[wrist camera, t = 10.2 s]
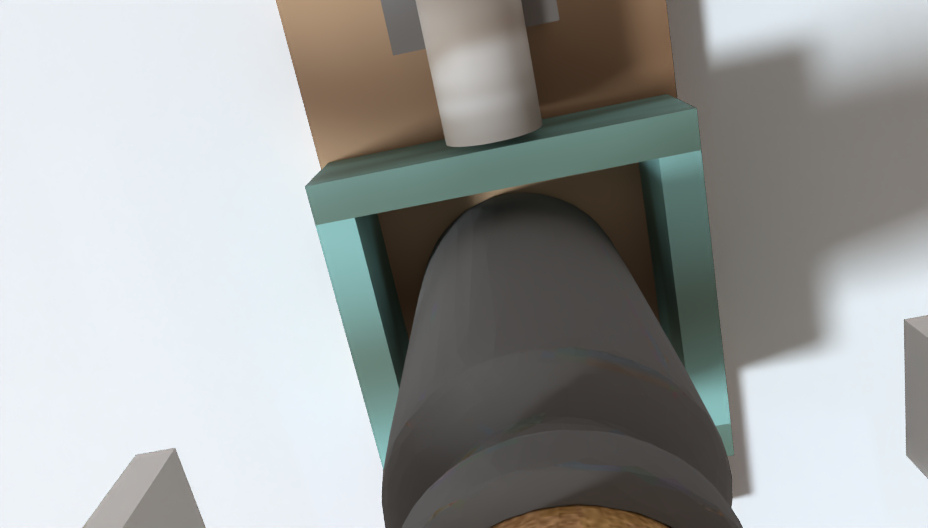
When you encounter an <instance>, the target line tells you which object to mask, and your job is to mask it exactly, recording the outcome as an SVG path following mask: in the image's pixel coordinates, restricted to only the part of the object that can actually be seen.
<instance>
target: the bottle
mask: <svg viewBox="0 0 928 528" xmlns="http://www.w3.org/2000/svg"><path fill="white" fill-rule="evenodd" d="M731 506H732V476H731V471H730V467H729V462H728V458H727V453H726V450H725V447H724V444H723V441H722V438H721V436H720V434H719V432H718V430H717V428H716V426H715V424H714V422H713V420H712V418H711V416H710V414H709V412H708V410H707V409H706V407H705V405H704V403H703V401H702V399H701V397H700V395H699V394H698V392H697V390H696V388H695V386H694V384H693V382H692V380H691V378H690V377H689V375H688V373H687V371H686V369H685V368H684V366H683V364H682V362H681V361H680V359H679V357H678V355H677V354H676V352H675V350H674V348H673V347H672V345H671V343H670V341H669V340H668V338H667V336H666V334H665V333H664V331H663V329H662V327H661V326H660V324H659V322H658V320H657V319H656V317H655V315H654V313H653V311H652V310H651V308H650V306H649V304H648V303H647V301H646V299H645V297H644V296H643V294H642V292H641V290H640V289H639V287H638V285H637V283H636V282H635V280H634V278H633V276H632V275H631V273H630V271H629V269H628V268H627V266H626V264H625V263H624V261H623V259H622V258H621V256H620V255H619V253H618V251H617V250H616V248H615V246H614V245H613V243H612V241H611V240H610V238H609V237H608V236H607V234H606V233H605V232H604V231H603V229H602V228H601V227H600V226H599V224H598V223H597V222H596V221H595V220H593V219H592V218H591V217H590V216H589V215H588V214H586V213H585V212H583V211H582V210H580V209H579V208H577V207H576V206H574V205H573V204H570V203H568V202H566V201H563V200H561V199H558V198H555V197H551V196H547V195H543V194H537V193H513V194H506V195H502V196H498V197H494V198H490V199H487V200H485V201H483V202H481V203H479V204H477V205H475V206H473V207H471V208H470V209H468V210H466V211H465V212H464V213H462V214H461V215H460V216H459V217H458V218H456V219H455V220H454V221H453V222H452V223H451V224H450V225H449V226H448V227H447V228H446V229H445V231H444V232H443V234H442V235H441V236H440V238H439V239H438V240H437V242H436V244H435V246H434V248H433V250H432V252H431V255H430V258H429V261H428V263H427V266H426V269H425V274H424V278H423V282H422V286H421V290H420V294H419V298H418V303H417V308H416V312H415V317H414V322H413V326H412V331H411V335H410V340H409V345H408V350H407V354H406V359H405V364H404V369H403V373H402V378H401V383H400V388H399V392H398V397H397V402H396V407H395V411H394V416H393V421H392V426H391V430H390V435H389V440H388V446H387V452H386V458H385V463H384V469H383V482H382V507H383V514H384V521H385V528H743V527H742V525H741V523H740V521H739V519H738V518H737V516H736V515H735V513H734V512H733V510H732V508H731Z"/></svg>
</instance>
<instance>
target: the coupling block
mask: <svg viewBox="0 0 928 528" xmlns="http://www.w3.org/2000/svg"><path fill="white" fill-rule="evenodd" d="M276 3H277V6H278V10H279V14H280V18H281V21H282V25H283V29H284V33H285V36H286V40H287V44H288V47H289V51H290V55H291V59H292V62H293V66H294V70H295V74H296V77H297V81H298V85H299V88H300V92H301V96H302V100H303V103H304V107H305V111H306V115H307V118H308V122H309V126H310V129H311V133H312V137H313V141H314V144H315V148H316V152H317V156H318V159H319V163H320V167H321V171H320V172H319V173H318V174H317V175H316V176H315V177H314V178H313V179H312V180H311V181H310V182H309V183H308V184H307V185H306V186H305V189H306V192H307V196H308V200H309V203H310V207H311V210H312V214H313V218H314V221H315V225H316V228H317V232H318V236H319V239H320V243H321V246H322V250H323V254H324V257H325V261H326V265H327V268H328V272H329V275H330V279H331V283H332V286H333V290H334V293H335V297H336V301H337V304H338V308H339V311H340V315H341V319H342V322H343V326H344V329H345V333H346V337H347V340H348V344H349V347H350V351H351V355H352V358H353V362H354V366H355V369H356V373H357V376H358V380H359V384H360V387H361V391H362V394H363V398H364V402H365V405H366V409H367V412H368V416H369V420H370V423H371V427H372V430H373V434H374V438H375V441H376V445H377V448H378V452H379V456H380V459H381V463H382V467H383V469H384V463H385V458H386V452H387V446H388V440H389V435H390V430H391V426H392V421H393V416H394V411H395V407H396V402H397V397H398V392H399V388H400V383H401V378H402V373H403V369H404V364H405V359H406V354H407V350H408V345H409V340H410V335H411V331H412V326H413V322H414V317H415V312H416V308H417V303H418V298H419V294H420V290H421V286H422V282H423V278H424V274H425V269H426V266H427V263H428V261H429V258H430V255H431V252H432V250H433V248H434V246H435V244H436V242H437V240H438V239H439V238H440V236H441V235H442V234H443V232H444V231H445V229H446V228H447V227H448V226H449V225H450V224H451V223H452V222H453V221H454V220H455V219H456V218H458V217H459V216H460V215H461V214H462V213H464V212H465V211H466V210H468V209H470V208H471V207H473V206H475V205H477V204H479V203H481V202H483V201H485V200H487V199H490V198H494V197H498V196H502V195H506V194H513V193H537V194H543V195H547V196H551V197H555V198H558V199H561V200H563V201H566V202H568V203H570V204H573V205H574V206H576V207H577V208H579V209H580V210H582V211H583V212H585V213H586V214H588V215H589V216H590V217H591V218H592V219H593V220H595V221H596V222H597V223H598V224H599V226H600V227H601V228H602V229H603V231H604V232H605V233H606V234H607V236H608V237H609V238H610V240H611V241H612V243H613V245H614V246H615V248H616V250H617V251H618V253H619V255H620V256H621V258H622V259H623V261H624V263H625V264H626V266H627V268H628V269H629V271H630V273H631V275H632V276H633V278H634V280H635V282H636V283H637V285H638V287H639V289H640V290H641V292H642V294H643V296H644V297H645V299H646V301H647V303H648V304H649V306H650V308H651V310H652V311H653V313H654V315H655V317H656V319H657V320H658V322H659V324H660V326H661V327H662V329H663V331H664V333H665V334H666V336H667V338H668V340H669V341H670V343H671V345H672V347H673V348H674V350H675V352H676V354H677V355H678V357H679V359H680V361H681V362H682V364H683V366H684V368H685V369H686V371H687V373H688V375H689V377H690V378H691V380H692V382H693V384H694V386H695V388H696V390H697V392H698V394H699V395H700V397H701V399H702V401H703V403H704V405H705V407H706V409H707V410H708V412H709V414H710V416H711V418H712V420H713V422H714V424H715V426H716V428H717V430H718V432H719V434H720V436H721V438H722V441H723V444H724V447H725V450H726V453H727V456H732V455H734V450H733V440H732V431H731V422H730V412H729V403H728V394H727V385H726V375H725V366H724V357H723V348H722V338H721V329H720V320H719V310H718V301H717V292H716V283H715V273H714V264H713V255H712V246H711V236H710V227H709V218H708V208H707V199H706V190H705V181H704V171H703V162H702V153H701V144H700V134H699V125H698V116H697V108H695V107H693V106H691V105H689V104H687V103H685V102H683V101H681V100H679V99H677V92H676V83H675V74H674V66H673V57H672V48H671V40H670V31H669V22H668V14H667V5H666V0H276Z"/></svg>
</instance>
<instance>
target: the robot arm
mask: <svg viewBox="0 0 928 528" xmlns="http://www.w3.org/2000/svg"><path fill="white" fill-rule="evenodd" d="M904 352H905V412H906V456H907V457H908V458H909V459H910V460H911V461H912V462H913V463H914V464H915V465H916V466H917V467H918V468H919V470H920V471H921V472H922V473H923V474H924V475H925V476H926V477H927V478H928V315H927V316H921V317H915V318H910V319H904ZM83 528H206V527H205V525H204V522H203V519H202V517H201V514H200V512H199V509H198V506H197V504H196V501H195V499H194V496H193V493H192V491H191V488H190V486H189V483H188V480H187V478H186V475H185V472H184V470H183V467H182V465H181V462H180V459H179V457H178V454H177V452H176V449H175V448H172V449H166V450H160V451H155V452H149V453H143V454H138V455H135V457H134V458H133V459H132V461H131V462H130V463H129V465H128V466H127V468H126V469H125V470H124V472H123V473H122V474H121V476H120V477H119V478H118V480H117V481H116V483H115V484H114V485H113V487H112V488H111V489H110V491H109V492H108V493H107V495H106V496H105V498H104V499H103V500H102V502H101V503H100V504H99V506H98V507H97V509H96V510H95V511H94V513H93V514H92V515H91V517H90V518H89V519H88V521H87V522H86V524H85V525H84V526H83Z"/></svg>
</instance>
